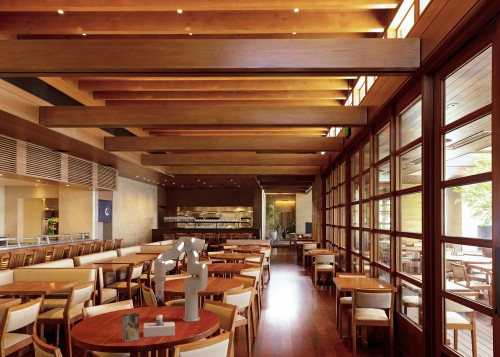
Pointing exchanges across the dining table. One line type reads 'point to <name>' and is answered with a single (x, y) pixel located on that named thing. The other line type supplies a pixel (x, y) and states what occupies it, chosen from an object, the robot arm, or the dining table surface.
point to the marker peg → (159, 320)
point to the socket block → (159, 329)
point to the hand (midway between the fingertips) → (159, 305)
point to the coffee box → (130, 327)
